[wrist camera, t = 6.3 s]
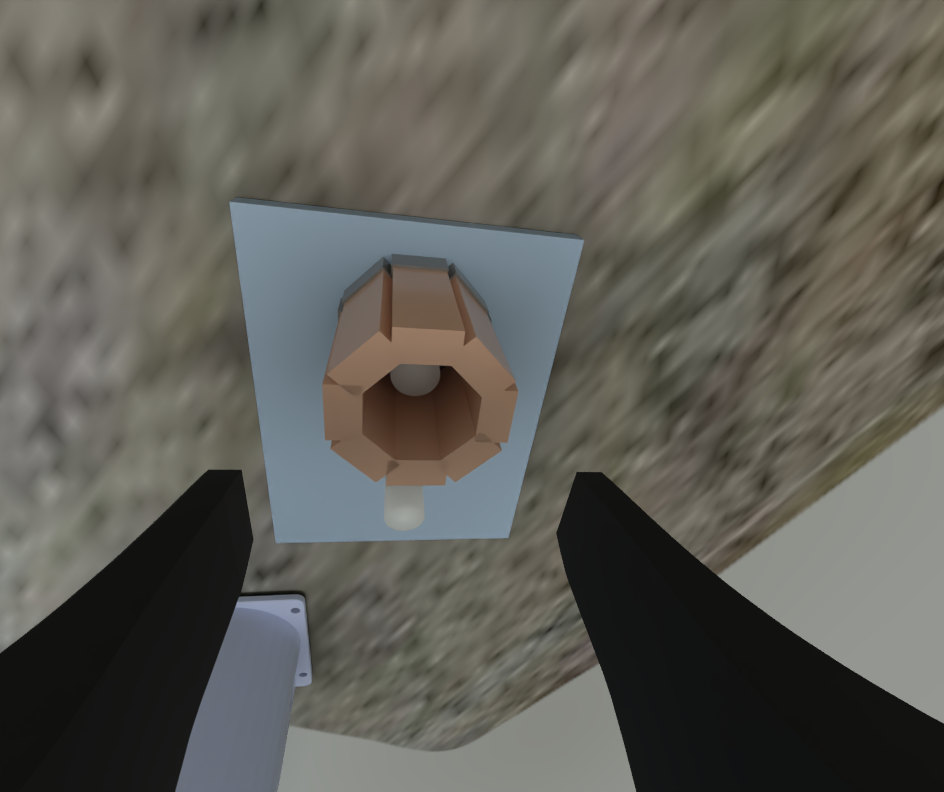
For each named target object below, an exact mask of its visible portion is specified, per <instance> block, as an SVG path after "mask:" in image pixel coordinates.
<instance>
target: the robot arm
mask: <svg viewBox="0 0 944 792" xmlns="http://www.w3.org/2000/svg"><path fill="white" fill-rule="evenodd" d="M556 534H557V538H558V543H559V547H560V552H561V556H562V560H563V564H564V568H565V572H566V575H567V578H568V581H569V584H570V587H571V589H572V592H573V595H574V597H575V600H576V603H577V606H578V608H579V611H580V613H581V616H582V619H583V621H584V624H585V627H586V629H587V632H588V635H589V637H590V640H591V642H592V645H593V648H594V650H595V653H596V656H597V658H598V661H599V664H600V666H601V669H602V671H603V674H604V677H605V680H606V683H607V686H608V689H609V692H610V695H611V698H612V702H613V705H614V709H615V713H616V716H617V720H618V724H619V727H620V731H621V734H622V737H623V741H624V745H625V748H626V752H627V757H628V761H629V764H630V768H631V772H632V776H633V780H634V784H635V788H636V792H944V724H943V723H942V722H940V721H938V720H936V719H934V718H932V717H930V716H929V715H927V714H925V713H923V712H921V711H920V710H918V709H916V708H914V707H913V706H911V705H909V704H908V703H906V702H904V701H902V700H901V699H899V698H897V697H896V696H894V695H892V694H890V693H889V692H887V691H885V690H883V689H882V688H880V687H878V686H876V685H875V684H873V683H872V682H870V681H868V680H867V679H865V678H863V677H862V676H860V675H858V674H857V673H855V672H853V671H852V670H850V669H849V668H847V667H845V666H844V665H842V664H841V663H839V662H837V661H836V660H834V659H833V658H831V657H830V656H828V655H827V654H825V653H824V652H822V651H821V650H819V649H818V648H816V647H815V646H813V645H811V644H810V643H808V642H807V641H805V640H804V639H802V638H801V637H799V636H798V635H796V634H795V633H793V632H792V631H790V630H789V629H788V628H786V627H785V626H783V625H782V624H780V623H779V622H778V621H776V620H775V619H773V618H772V617H771V616H769V615H768V614H767V613H765V612H764V611H763V610H761V609H760V608H758V607H757V606H756V605H754V604H753V603H752V602H750V601H749V600H748V599H746V598H745V597H744V596H742V595H741V594H740V593H738V592H737V591H736V590H734V589H733V588H732V587H731V586H729V585H728V584H727V583H725V582H724V581H723V580H722V579H721V578H719V577H718V576H717V575H716V574H715V573H713V572H712V571H711V570H710V569H709V568H707V567H706V566H705V565H704V564H702V563H701V562H700V561H699V560H698V559H696V558H695V557H694V556H693V555H692V554H691V553H690V552H688V551H687V550H686V549H685V548H684V547H683V546H681V545H680V544H679V543H678V542H677V541H676V540H675V539H674V538H672V537H671V536H670V535H669V534H668V533H667V532H666V531H665V530H664V529H663V528H661V527H660V526H659V525H658V524H657V523H656V522H655V521H654V520H653V519H652V518H651V517H649V516H648V515H647V514H646V513H645V512H644V511H643V510H642V509H641V508H640V507H639V506H638V505H637V504H636V503H634V502H633V501H632V500H631V499H630V498H629V497H628V496H627V495H626V494H625V493H624V492H623V491H622V490H621V489H620V488H618V487H617V486H616V485H615V484H614V483H613V482H612V481H611V480H610V479H609V478H607V477H606V476H605V475H604V474H603V473H602V472H577V473H576V476H575V479H574V482H573V485H572V488H571V491H570V494H569V497H568V500H567V503H566V506H565V509H564V512H563V515H562V518H561V521H560V524H559V527H558V530H557V533H556ZM252 543H253V535H252V529H251V523H250V517H249V511H248V505H247V499H246V493H245V488H244V482H243V476H242V470H208V471H207V472H205V473H204V474H203V475H202V476H201V477H200V478H199V479H198V480H197V481H196V482H195V483H194V484H193V485H192V486H191V487H190V488H189V489H188V490H187V491H186V492H185V493H184V494H183V495H182V496H180V497H179V498H178V499H177V500H176V501H175V502H174V503H173V504H172V505H171V506H170V507H169V508H168V509H167V510H166V511H165V512H164V513H163V514H162V515H161V516H160V517H159V518H158V519H157V520H156V521H155V522H154V523H153V524H152V525H151V526H150V527H149V528H147V529H146V530H145V531H144V532H143V533H142V534H141V535H140V536H139V537H138V538H137V539H136V540H135V541H133V542H132V543H131V544H130V545H129V546H128V547H127V548H126V549H125V550H124V551H123V552H122V553H121V554H120V555H118V556H117V557H116V558H115V559H114V560H113V561H112V562H111V563H110V564H108V565H107V566H106V567H105V568H104V569H103V570H102V571H100V572H99V573H98V574H97V575H96V576H95V577H93V578H92V579H91V580H90V581H89V582H88V583H86V584H85V585H84V586H83V587H82V588H81V589H79V590H78V591H77V592H76V593H75V594H74V595H72V596H71V597H70V598H69V599H68V600H67V601H66V602H64V603H63V604H62V605H61V606H60V607H58V608H57V609H56V610H55V611H53V612H52V613H51V614H50V615H49V616H47V617H46V618H45V619H44V620H42V621H41V622H40V623H39V624H37V625H36V626H35V627H34V628H32V629H31V630H30V631H29V632H27V633H26V634H25V635H23V636H22V637H21V638H20V639H18V640H17V641H16V642H14V643H13V644H12V645H11V646H9V647H8V648H7V649H5V650H4V651H3V652H1V653H0V792H277V790H278V785H279V780H280V774H281V768H282V762H283V757H284V751H285V744H286V739H287V733H288V727H289V722H290V716H291V710H292V704H293V698H294V692H295V687H299V686H307V685H309V684H311V682H312V677H313V676H312V666H311V655H310V645H309V635H308V624H307V614H306V603H305V598H304V597H303V596H302V595H299V594H290V595H267V596H243V597H239V595H240V593H241V590H242V586H243V582H244V578H245V574H246V570H247V566H248V561H249V557H250V552H251V548H252Z"/></svg>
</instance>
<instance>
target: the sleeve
mask: <svg viewBox="0 0 944 792" xmlns="http://www.w3.org/2000/svg"><path fill="white" fill-rule="evenodd" d="M489 313H490V312H489V310H488V308H487V305H486V303H485V301H484V300H483V298H482V297H481V296H480V295H479V293H478V292H477V291H476V290H475V289H474V287H473V286H472V285H471V284H470V282H469V281H468V280H467V279H466V278H465V276H464V275H463V274H462V273H461V271H460V270H459V269H458V268H457V267H456V265H455V264H454V263H452V264H451V265H449V266H448V265H447V261H446V258H435V257H423V256H412V255H401V254H392V259H391V264H390V263H389V262H388V261H387V260H386V259H385V258H384V257H382V258H381V259H380V260H379V261H377V262H376V263H375V264H374V265H373V266H372V267H371V268H369V269H368V270H367V271H366V272H365V273H364V274H363V275H361V276H360V277H359V278H358V279H357V280H356V281H355V282H353V283H352V284H351V285H350V286H349V287H348V288H347V289H345V290H344V294H343V298H341V300H340V304H339V307H338V325H337V329H336V332H335V336H334V340H333V344H332V348H331V352H330V356H329V360H328V364H327V367H326V371H325V375H324V379H323V383H322V391H323V410H324V429H325V440H332V442H331V447H330V449H331V450H332V451H334V452H335V453H336V454H338V455H339V456H340V457H342V458H343V459H345V460H346V461H347V462H349V463H350V464H351V465H353V466H354V467H355V468H357V469H358V470H359V471H361V472H362V473H364V474H365V475H366V476H368V477H369V478H370V479H372V480H373V481H374V482H378V481H379V480H380V479H382V478H383V477H384V476H386V486H426V485H445V484H446V476H448V477H450V478H451V479H452V480H453V481H454V482H457V481H458V480H460V479H461V478H463V477H464V476H465V475H467V474H468V473H470V472H471V471H473V470H474V469H476V468H477V467H479V466H480V465H482V464H483V463H485V462H486V461H487V460H489V459H490V458H492V457H493V456H495V455H496V454H498V453H499V452H501V451H502V449H501V446H500V443H508V439H509V434H510V429H511V425H512V420H513V415H514V410H515V406H516V401H517V396H518V392H519V391H518V389H517V386H516V384H515V382H516V380H515V378H514V376H513V373H512V371H511V369H510V366H509V364H508V362H507V359H506V357H505V355H504V352H503V350H502V348H501V345H500V343H499V341H498V338H497V336H496V334H495V331H494V329H493V327H492V325H491V322H492V320H491V317H490V315H489ZM399 364H419V365H439V368H440V380H439V382H438V384H437V386H436V387H435V388H434V389H433V390H432V391H431V392H429V393H427V394H425V395H421V396H409V395H405V394H403V393H401V392H400V391H398V390H397V389H396V388H395V387H394V385H393V383H392V381H391V377H390V371H392V370H393V369H394V368H395V367H397V366H398V365H399Z"/></svg>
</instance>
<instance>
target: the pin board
mask: <svg viewBox="0 0 944 792" xmlns="http://www.w3.org/2000/svg"><path fill="white" fill-rule="evenodd" d="M229 203H230V211H231V218H232V225H233V233H234V240H235V247H236V255H237V262H238V269H239V277H240V284H241V291H242V299H243V306H244V313H245V321H246V328H247V335H248V343H249V350H250V357H251V365H252V372H253V379H254V387H255V394H256V401H257V409H258V416H259V423H260V431H261V438H262V445H263V453H264V460H265V467H266V475H267V482H268V489H269V497H270V504H271V511H272V519H273V526H274V533H275V541H276V543H305V542H349V541H393V540H438V539H482V538H508V537H509V533H510V529H511V525H512V521H513V517H514V514H515V510H516V506H517V502H518V498H519V494H520V490H521V486H522V482H523V478H524V474H525V470H526V467H527V463H528V459H529V455H530V451H531V447H532V443H533V439H534V435H535V431H536V427H537V423H538V420H539V416H540V412H541V408H542V404H543V400H544V396H545V392H546V388H547V384H548V380H549V376H550V373H551V369H552V365H553V361H554V357H555V353H556V349H557V345H558V341H559V337H560V333H561V329H562V326H563V322H564V318H565V314H566V310H567V306H568V302H569V298H570V294H571V290H572V286H573V282H574V278H575V275H576V271H577V267H578V263H579V259H580V255H581V251H582V247H583V243H584V240H583V239H582V238H581V237H579V236H578V235H574V234H565V233H556V232H547V231H538V230H529V229H520V228H511V227H502V226H493V225H483V224H474V223H465V222H456V221H447V220H438V219H429V218H420V217H411V216H402V215H393V214H384V213H375V212H366V211H357V210H348V209H339V208H329V207H320V206H311V205H302V204H293V203H284V202H275V201H266V200H257V199H248V198H239V197H236V198H235V199H233V200H231V201H230V202H229ZM392 254H401V255H412V256H423V257H435V258H446V261H447V265H448V266H449V265H451V264H452V263H454V264H455V265H456V267H457V268H458V269H459V270H460V271H461V273H462V274H463V275H464V276H465V278H466V279H467V280H468V281H469V282H470V284H471V285H472V286H473V287H474V289H475V290H476V291H477V292H478V293H479V295H480V296H481V297H482V298H483V300H484V301H485V303H486V305H487V308H488V310H489V312H490V313H489V315H490V317H491V320H492V322H491V325H492V327H493V329H494V331H495V334H496V336H497V338H498V341H499V343H500V345H501V348H502V350H503V352H504V355H505V357H506V359H507V362H508V364H509V366H510V369H511V371H512V373H513V376H514V378H515V380H516V382H515V384H516V386H517V389H518V391H519V392H518V396H517V401H516V406H515V410H514V415H513V420H512V425H511V429H510V434H509V439H508V443H500V446H501V449H502V451H501V452H499V453H498V454H496V455H495V456H493V457H492V458H490V459H489V460H487V461H486V462H485V463H483V464H482V465H480V466H479V467H477V468H476V469H474V470H473V471H471V472H470V473H468V474H467V475H465V476H464V477H463V478H461V479H460V480H458V481H457V482H454V481H453V480H452V479H451V478H450V477H448V476H446V484H445V485H426V486H386V476H384V477H383V478H382V479H380V480H379V481H378V482H374V481H373V480H372V479H370V478H369V477H368V476H366V475H365V474H364V473H362V472H361V471H359V470H358V469H357V468H355V467H354V466H353V465H351V464H350V463H349V462H347V461H346V460H345V459H343V458H342V457H340V456H339V455H338V454H336V453H335V452H334V451H332V450H331V449H330V447H331V442H332V440H325V429H324V410H323V391H322V383H323V379H324V375H325V371H326V367H327V364H328V360H329V356H330V352H331V348H332V344H333V340H334V336H335V332H336V329H337V325H338V307H339V304H340V300H341V298H343V294H344V290H345V289H347V288H348V287H349V286H350V285H351V284H352V283H353V282H355V281H356V280H357V279H358V278H359V277H360V276H361V275H363V274H364V273H365V272H366V271H367V270H368V269H369V268H371V267H372V266H373V265H374V264H375V263H376V262H377V261H379V260H380V259H381V258H382V257H384V258H385V259H386V260H387V261H388V262H389V263H390V264H391V259H392ZM390 377H391V381H392V383H393V385H394V387H395V388H396V389H397V390H398V391H400V392H401V393H403V394H405V395H409V396H421V395H425V394H427V393H429V392H431V391H432V390H433V389H434V388H435V387H436V386H437V384H438V382H439V380H440V368H439V365H419V364H399V365H398V366H397V367H395V368H394V369H393V370H392V371H390Z"/></svg>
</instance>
